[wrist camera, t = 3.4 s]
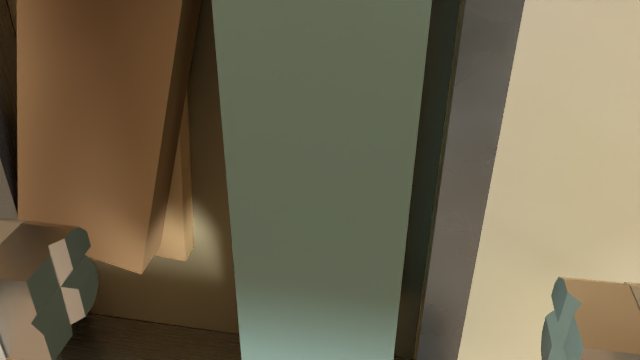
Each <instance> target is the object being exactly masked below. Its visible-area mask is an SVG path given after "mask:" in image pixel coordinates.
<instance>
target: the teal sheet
mask: <svg viewBox="0 0 640 360" xmlns="http://www.w3.org/2000/svg"><path fill="white" fill-rule="evenodd" d="M431 5H432V0H212V12H213V24H214V36H215V48H216V60H217V72H218V84H219V96H220V107H221V119H222V131H223V143H224V155H225V167H226V179H227V191H228V203H229V215H230V227H231V239H232V251H233V263H234V275H235V287H236V299H237V311H238V323H239V335H240V347H241V359H242V360H393V359H394V349H395V340H396V331H397V321H398V312H399V303H400V294H401V284H402V275H403V266H404V256H405V247H406V238H407V228H408V219H409V210H410V201H411V191H412V182H413V173H414V163H415V154H416V145H417V135H418V126H419V117H420V108H421V98H422V89H423V80H424V70H425V61H426V52H427V42H428V33H429V24H430V15H431Z"/></svg>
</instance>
